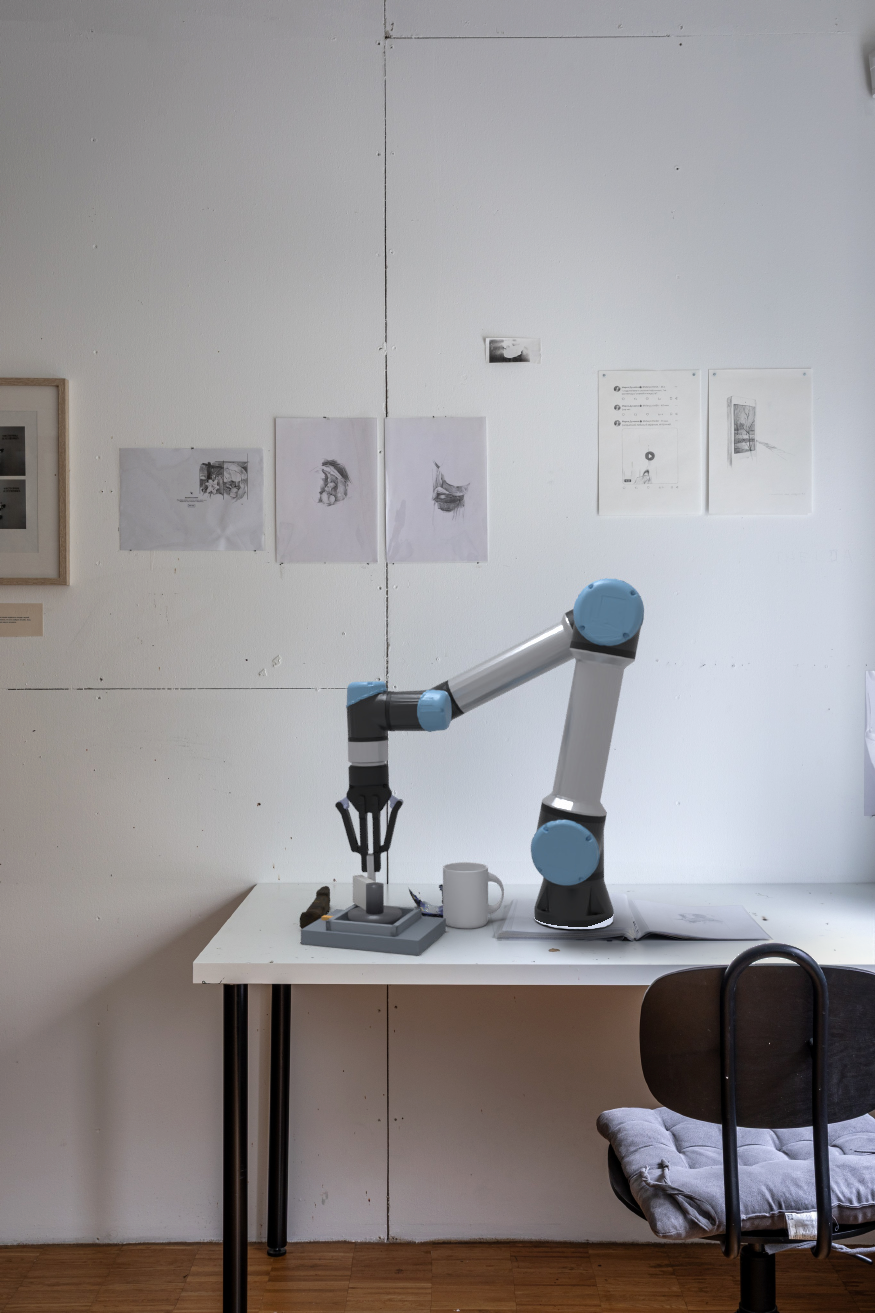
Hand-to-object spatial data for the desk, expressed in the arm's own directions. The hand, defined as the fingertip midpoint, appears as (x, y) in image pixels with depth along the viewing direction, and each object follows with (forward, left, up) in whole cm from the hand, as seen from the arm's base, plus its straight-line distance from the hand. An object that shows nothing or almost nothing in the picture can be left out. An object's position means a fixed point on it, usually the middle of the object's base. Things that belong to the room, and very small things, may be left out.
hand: (371, 889), depth 175 cm
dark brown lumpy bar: (+13, -3, -8) cm, 16 cm away
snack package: (-8, -14, -8) cm, 18 cm away
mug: (-17, -9, -7) cm, 21 cm away
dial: (-2, +5, -4) cm, 7 cm away
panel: (-3, +6, -7) cm, 10 cm away
